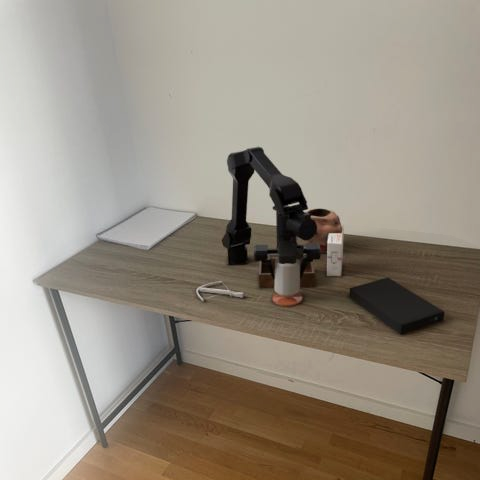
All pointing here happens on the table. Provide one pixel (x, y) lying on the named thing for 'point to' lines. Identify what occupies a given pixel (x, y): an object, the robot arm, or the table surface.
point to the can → (287, 278)
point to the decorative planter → (324, 226)
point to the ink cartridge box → (335, 253)
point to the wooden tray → (267, 279)
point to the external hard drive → (396, 305)
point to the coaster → (287, 299)
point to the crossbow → (217, 291)
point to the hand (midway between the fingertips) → (287, 278)
